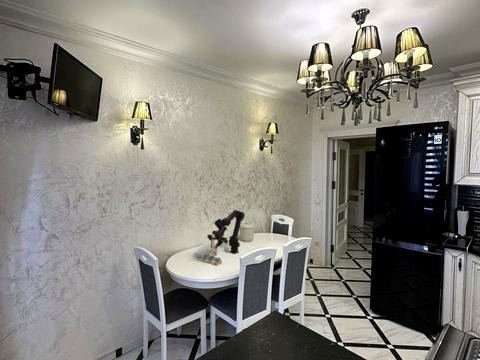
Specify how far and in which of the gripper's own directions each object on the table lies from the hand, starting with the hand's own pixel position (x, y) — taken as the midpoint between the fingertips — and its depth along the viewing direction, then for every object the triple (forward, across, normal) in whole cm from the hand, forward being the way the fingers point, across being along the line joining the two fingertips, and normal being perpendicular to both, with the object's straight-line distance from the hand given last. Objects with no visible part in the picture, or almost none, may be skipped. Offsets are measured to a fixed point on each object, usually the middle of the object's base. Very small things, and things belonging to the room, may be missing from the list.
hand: (213, 247), depth 218 cm
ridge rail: (+8, -2, +11) cm, 14 cm away
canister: (-43, -10, +63) cm, 76 cm away
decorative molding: (-5, -25, +25) cm, 36 cm away
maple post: (+4, 0, +6) cm, 7 cm away
